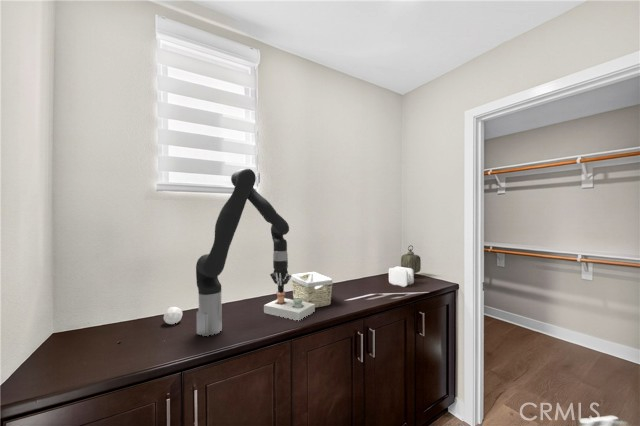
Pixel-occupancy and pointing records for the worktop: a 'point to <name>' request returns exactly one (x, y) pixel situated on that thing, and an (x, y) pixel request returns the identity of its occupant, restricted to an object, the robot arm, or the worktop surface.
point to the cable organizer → (401, 276)
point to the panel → (289, 309)
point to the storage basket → (312, 288)
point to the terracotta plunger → (280, 297)
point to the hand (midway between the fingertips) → (280, 292)
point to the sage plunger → (298, 303)
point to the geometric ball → (173, 315)
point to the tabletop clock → (411, 261)
